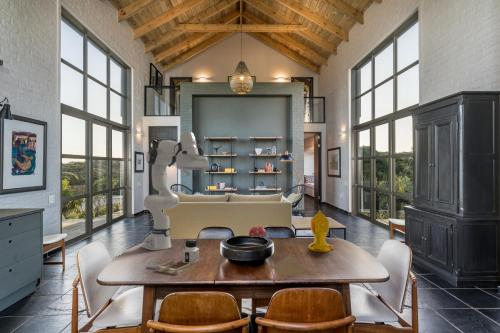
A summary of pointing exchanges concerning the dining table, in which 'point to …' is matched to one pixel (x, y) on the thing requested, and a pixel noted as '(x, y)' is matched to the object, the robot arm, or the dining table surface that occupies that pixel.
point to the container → (191, 252)
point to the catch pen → (169, 270)
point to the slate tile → (152, 266)
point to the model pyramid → (289, 267)
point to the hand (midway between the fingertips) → (195, 175)
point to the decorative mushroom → (257, 231)
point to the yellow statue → (319, 233)
